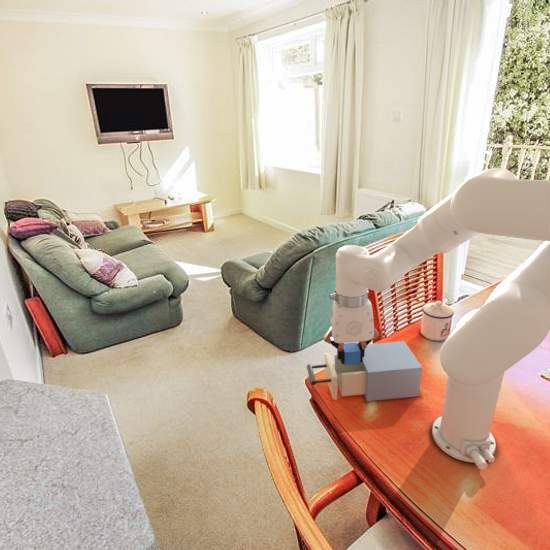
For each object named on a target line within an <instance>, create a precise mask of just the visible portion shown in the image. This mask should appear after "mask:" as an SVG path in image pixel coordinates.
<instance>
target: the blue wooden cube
mask: <svg viewBox="0 0 550 550" xmlns="http://www.w3.org/2000/svg"><path fill="white" fill-rule="evenodd" d="M357 343H358V342H351V343H344V346H343V349H344V365H345V366H346V365H356V364H360V354H361V351H360V349H359V347H358V345H357Z"/></svg>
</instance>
